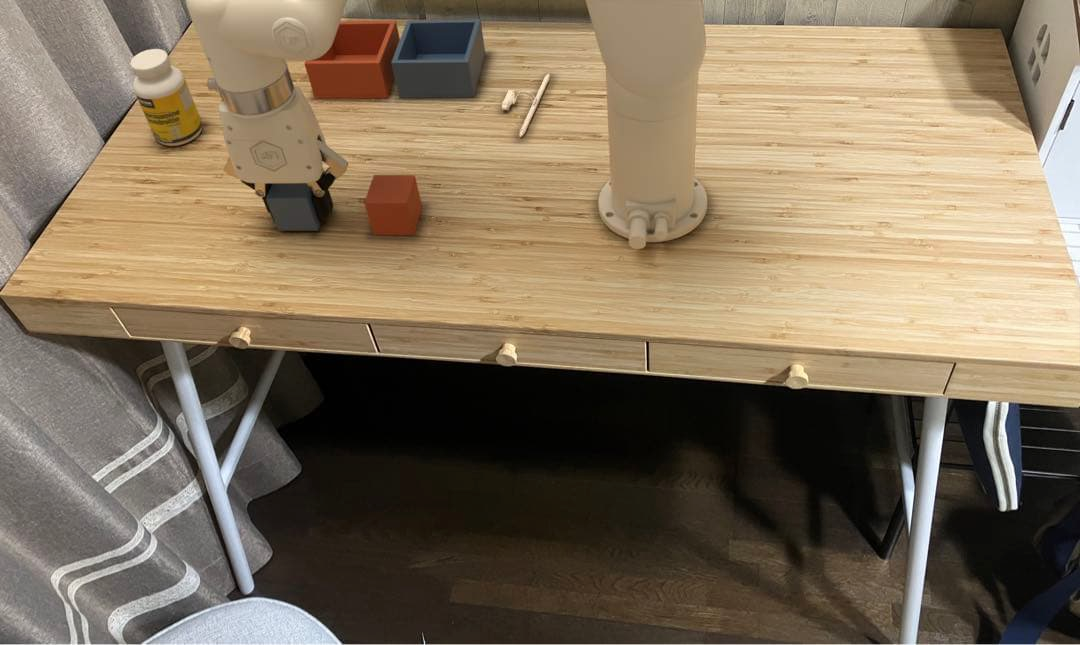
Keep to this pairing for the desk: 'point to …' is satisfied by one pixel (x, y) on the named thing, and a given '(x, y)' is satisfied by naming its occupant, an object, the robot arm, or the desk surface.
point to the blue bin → (439, 59)
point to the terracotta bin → (356, 61)
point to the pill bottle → (165, 98)
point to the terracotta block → (393, 204)
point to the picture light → (512, 99)
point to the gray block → (292, 207)
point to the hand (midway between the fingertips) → (302, 213)
